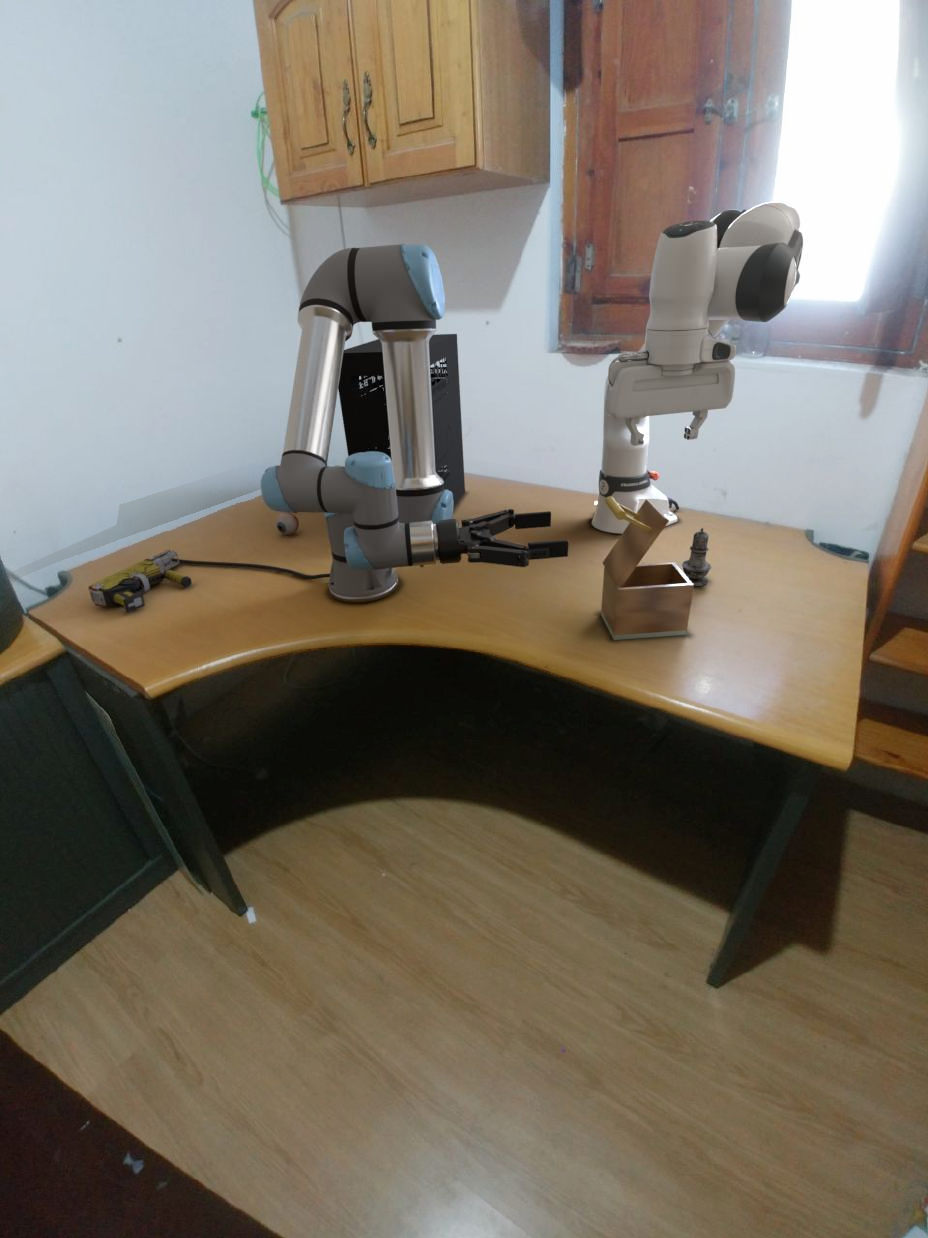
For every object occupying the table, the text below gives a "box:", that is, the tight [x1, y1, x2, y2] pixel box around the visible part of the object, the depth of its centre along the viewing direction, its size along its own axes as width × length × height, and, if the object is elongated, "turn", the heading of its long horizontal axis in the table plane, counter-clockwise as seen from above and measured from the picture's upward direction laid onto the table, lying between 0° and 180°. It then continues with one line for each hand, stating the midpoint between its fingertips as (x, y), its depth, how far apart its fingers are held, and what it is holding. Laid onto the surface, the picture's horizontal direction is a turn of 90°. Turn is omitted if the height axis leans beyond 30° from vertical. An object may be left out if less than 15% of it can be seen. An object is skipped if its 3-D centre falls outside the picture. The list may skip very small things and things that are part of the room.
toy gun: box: [87, 549, 193, 614], centre depth 138 cm, size 5×24×15 cm
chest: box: [600, 561, 695, 641], centre depth 112 cm, size 14×10×10 cm
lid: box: [602, 496, 669, 588], centre depth 106 cm, size 14×10×8 cm
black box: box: [338, 333, 466, 510], centre depth 164 cm, size 38×20×45 cm, turn 167°
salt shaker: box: [681, 527, 712, 587], centre depth 126 cm, size 6×6×12 cm
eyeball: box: [275, 512, 300, 536], centre depth 163 cm, size 6×6×6 cm
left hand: (558, 532), depth 104 cm, fingers open, 13 cm apart
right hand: (663, 441), depth 98 cm, fingers open, 8 cm apart
